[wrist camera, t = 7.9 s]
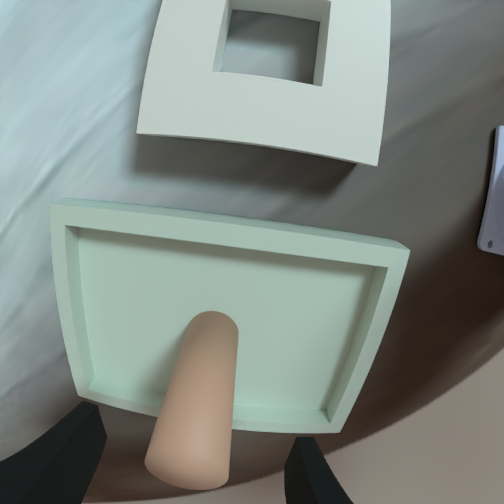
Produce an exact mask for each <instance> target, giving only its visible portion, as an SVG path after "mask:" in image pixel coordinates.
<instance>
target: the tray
mask: <svg viewBox="0 0 504 504" xmlns="http://www.w3.org/2000/svg"><path fill="white" fill-rule="evenodd" d="M50 232H51V249H52V262H53V272H54V281H55V289H56V296H57V303H58V310H59V316H60V322H61V327H62V332H63V337H64V342H65V347H66V351H67V356H68V360H69V364H70V368H71V372H72V376H73V380H74V383H75V387H76V390H77V394H78V396H81V397H84V398H87V399H90V400H93V401H97V402H100V403H103V404H107V405H110V406H114V407H118V408H121V409H125V410H129V411H133V412H137V413H142V414H146V415H150V416H155V417H158V415H159V412H160V409H161V406H162V403H163V400H164V397H165V394H166V391H167V388H168V385H169V382H170V379H171V376H172V373H173V370H174V367H175V364H176V361H177V358H178V355H179V352H180V349H181V346H182V343H183V341H184V338H185V335H186V332H187V329H188V326H189V324H190V321H191V320H192V319H193V318H194V317H195V316H196V315H197V314H199V313H201V312H205V311H217V312H221V313H224V314H226V315H227V316H229V317H230V318H231V319H232V320H233V321H234V322H235V323H236V325H237V327H238V332H239V336H238V350H237V363H236V377H235V391H234V405H233V419H232V429H239V430H250V431H263V432H281V433H340V431H341V429H342V427H343V425H344V423H345V421H346V419H347V417H348V415H349V413H350V411H351V409H352V407H353V405H354V403H355V401H356V399H357V397H358V395H359V392H360V390H361V388H362V386H363V384H364V381H365V379H366V377H367V375H368V372H369V370H370V367H371V365H372V363H373V360H374V358H375V355H376V353H377V350H378V348H379V345H380V343H381V340H382V338H383V335H384V332H385V330H386V327H387V324H388V321H389V318H390V316H391V313H392V310H393V307H394V304H395V301H396V298H397V295H398V292H399V288H400V285H401V282H402V279H403V275H404V272H405V268H406V265H407V261H408V258H409V254H410V250H409V249H407V248H406V247H405V246H403V245H402V244H400V243H399V242H397V241H396V240H391V239H385V238H379V237H373V236H367V235H361V234H355V233H349V232H342V231H336V230H330V229H323V228H317V227H310V226H303V225H297V224H290V223H283V222H276V221H269V220H261V219H254V218H247V217H239V216H231V215H224V214H216V213H208V212H199V211H191V210H182V209H174V208H165V207H156V206H146V205H137V204H127V203H117V202H106V201H95V200H84V199H72V198H67V199H64V200H60V201H57V202H54V203H51V204H50Z"/></svg>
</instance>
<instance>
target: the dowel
mask: <svg viewBox="0 0 504 504" xmlns="http://www.w3.org/2000/svg"><path fill="white" fill-rule="evenodd" d="M238 336H239V332H238V327H237V325H236V323H235V322H234V321H233V320H232V319H231V318H230V317H229V316H227V315H226V314H224V313H221V312H217V311H205V312H201V313H199V314H197V315H196V316H195V317H194V318H193V319H192V320H191V321H190V324H189V326H188V329H187V332H186V335H185V338H184V341H183V343H182V346H181V349H180V352H179V355H178V358H177V361H176V364H175V367H174V370H173V373H172V376H171V379H170V382H169V385H168V388H167V391H166V394H165V397H164V400H163V403H162V406H161V409H160V412H159V415H158V419H157V422H156V425H155V428H154V431H153V434H152V438H151V441H150V444H149V447H148V451H147V454H146V457H145V461H144V462H145V466H146V468H147V469H148V471H149V472H150V473H151V474H152V475H154V476H155V477H156V478H158V479H160V480H162V481H163V482H166V483H168V484H170V485H173V486H176V487H180V488H185V489H191V490H208V489H214V488H217V487H220V486H222V485H224V484H225V483H226V482H227V480H228V477H229V462H230V447H231V433H232V419H233V405H234V391H235V377H236V363H237V350H238Z"/></svg>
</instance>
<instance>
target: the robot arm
mask: <svg viewBox="0 0 504 504" xmlns="http://www.w3.org/2000/svg"><path fill="white" fill-rule="evenodd" d="M488 242H489V245H488ZM477 246H478V248H479V249H481V250H483V251H487V252H491V253H495V254H500V255H504V126H497V128H496V135H495V146H494V155H493V164H492V171H491V178H490V184H489V190H488V196H487V201H486V206H485V211H484V216H483V220H482V224H481V229H480V233H479V237H478V241H477ZM106 439H107V435H106V432H105V429H104V426H103V423H102V419H101V416H100V413H99V409H98V405H95V404H92V403H89V402H86V401H82V402H81V403H80V404H79V405H77V406H76V407H75V408H74V409H73V410H72V411H71V412H70V413H68V414H67V415H66V416H65V417H64V418H63V419H61V420H60V421H59V422H58V423H57V424H56V425H54V426H53V427H52V428H51V429H49V430H48V431H47V432H46V433H44V434H43V435H42V436H41V437H39V438H38V439H36V440H35V441H34V442H32V443H31V444H29V445H28V446H27V447H25V448H24V449H22V450H20V451H19V452H17V453H15V454H14V455H12V456H10V457H8V458H7V459H5V460H2V461H0V504H81V503H82V500H83V498H84V495H85V493H86V491H87V488H88V486H89V484H90V482H91V479H92V477H93V475H94V473H95V470H96V468H97V466H98V464H99V461H100V459H101V456H102V453H103V449H104V446H105V442H106ZM284 474H285V475H284V479H285V481H284V482H285V483H284V484H285V496H286V503H287V504H353V502H352V501H351V500H350V499H349V497H348V496H347V494H346V493H345V491H344V490H343V488H342V487H341V485H340V484H339V482H338V480H337V479H336V477H335V476H334V474H333V472H332V471H331V469H330V467H329V465H328V463H327V462H326V460H325V458H324V456H323V454H322V452H321V450H320V448H319V446H318V444H317V442H316V440H315V438H314V437H296V440H295V442H294V444H293V447H292V449H291V452H290V454H289V456H288V459H287V461H286V463H285V471H284Z"/></svg>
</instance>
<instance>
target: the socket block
mask: <svg viewBox="0 0 504 504" xmlns="http://www.w3.org/2000/svg"><path fill="white" fill-rule="evenodd" d="M232 9H233V10H245V11H255V12H264V13H272V14H279V15H285V16H292V17H297V18H303V19H308V20H313V21H317V22H320V26H319V35H318V44H317V53H316V61H315V69H314V77H313V85H311V84H306V83H300V82H295V81H289V80H283V79H277V78H270V77H263V76H255V75H247V74H238V73H227V72H221V68H222V62H223V57H224V51H225V45H226V40H227V35H228V29H229V24H230V19H231V14H232ZM390 14H391V4H390V0H163V1H162V4H161V8H160V12H159V15H158V19H157V23H156V27H155V31H154V36H153V40H152V44H151V49H150V53H149V58H148V63H147V68H146V73H145V79H144V85H143V90H142V96H141V103H140V109H139V116H138V124H137V132H136V133H137V134H144V135H150V136H161V137H177V138H190V139H202V140H212V141H222V142H231V143H239V144H247V145H255V146H262V147H269V148H276V149H282V150H288V151H294V152H300V153H306V154H311V155H317V156H322V157H327V158H332V159H337V160H342V161H347V162H351V163H356V164H363V165H371V166H377V163H378V157H379V150H380V143H381V136H382V128H383V120H384V112H385V102H386V92H387V81H388V67H389V50H390Z"/></svg>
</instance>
